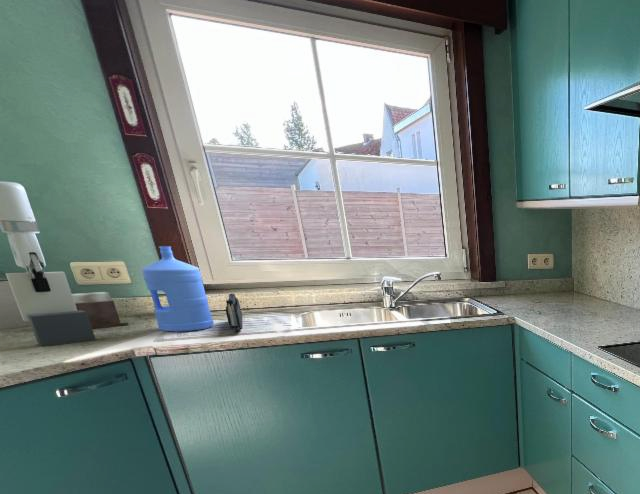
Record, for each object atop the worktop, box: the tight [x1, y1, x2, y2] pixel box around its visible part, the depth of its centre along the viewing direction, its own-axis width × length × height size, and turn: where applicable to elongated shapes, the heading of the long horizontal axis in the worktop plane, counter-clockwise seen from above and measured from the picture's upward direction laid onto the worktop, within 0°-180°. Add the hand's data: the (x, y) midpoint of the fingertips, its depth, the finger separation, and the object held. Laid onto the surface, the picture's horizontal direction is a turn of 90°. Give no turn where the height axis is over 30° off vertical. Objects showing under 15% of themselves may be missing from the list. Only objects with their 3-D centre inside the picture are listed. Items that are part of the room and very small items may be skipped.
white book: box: [5, 271, 77, 322], centre depth 152 cm, size 12×2×14 cm, turn 147°
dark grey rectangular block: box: [27, 310, 97, 347], centre depth 152 cm, size 12×4×9 cm, turn 147°
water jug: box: [141, 245, 215, 333], centre depth 172 cm, size 16×16×28 cm
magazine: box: [225, 293, 244, 334], centre depth 181 cm, size 17×3×30 cm
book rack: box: [71, 291, 129, 330], centre depth 174 cm, size 14×12×11 cm
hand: (42, 290), depth 151 cm, fingers closed on white book, 2 cm apart
